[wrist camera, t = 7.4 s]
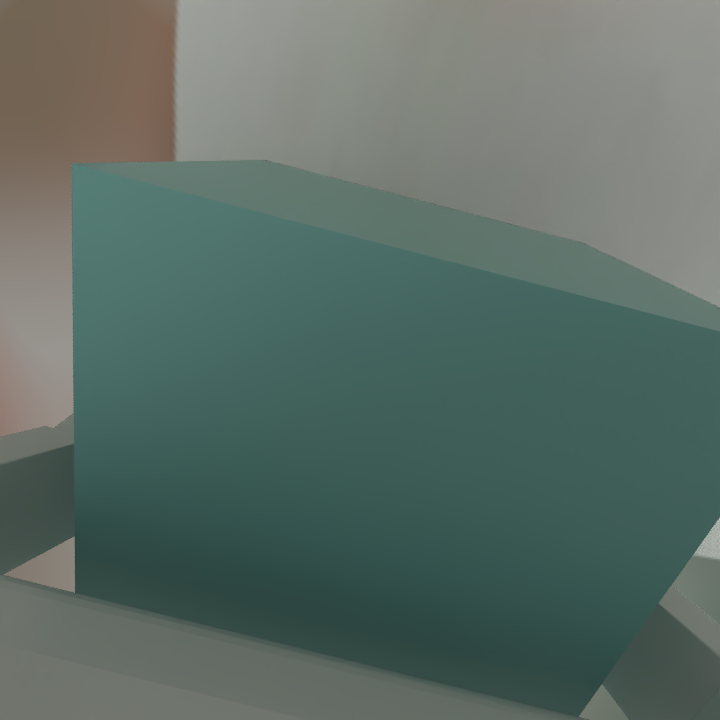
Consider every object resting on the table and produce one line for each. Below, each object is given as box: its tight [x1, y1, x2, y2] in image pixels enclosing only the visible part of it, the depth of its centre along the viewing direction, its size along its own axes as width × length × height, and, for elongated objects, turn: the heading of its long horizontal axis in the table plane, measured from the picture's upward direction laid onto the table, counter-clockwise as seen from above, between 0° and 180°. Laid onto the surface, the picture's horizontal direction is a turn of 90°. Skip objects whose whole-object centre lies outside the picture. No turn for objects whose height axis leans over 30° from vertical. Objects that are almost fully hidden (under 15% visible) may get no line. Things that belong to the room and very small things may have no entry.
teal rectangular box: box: [72, 160, 720, 717], centre depth 9 cm, size 10×7×6 cm, turn 167°
